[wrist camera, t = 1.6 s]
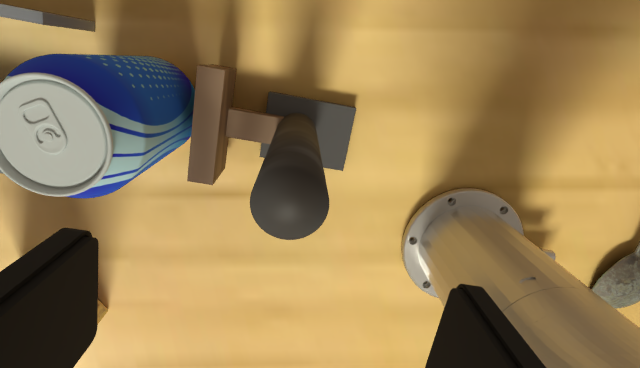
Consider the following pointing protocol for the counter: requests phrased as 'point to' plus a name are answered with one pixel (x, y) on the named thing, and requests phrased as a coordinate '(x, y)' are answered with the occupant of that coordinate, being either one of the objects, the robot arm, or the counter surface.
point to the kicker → (280, 161)
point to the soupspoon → (621, 281)
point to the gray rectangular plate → (318, 124)
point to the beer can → (90, 121)
